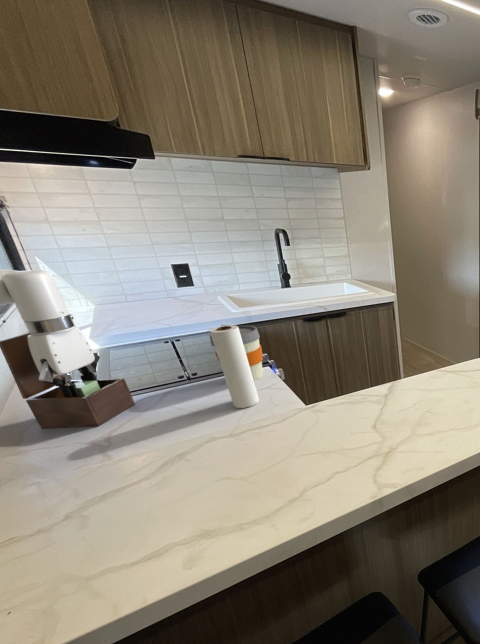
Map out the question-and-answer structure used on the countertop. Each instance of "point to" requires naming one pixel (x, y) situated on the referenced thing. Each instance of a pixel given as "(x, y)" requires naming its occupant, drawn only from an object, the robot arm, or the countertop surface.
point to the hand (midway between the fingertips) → (84, 393)
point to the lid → (23, 366)
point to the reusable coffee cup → (250, 349)
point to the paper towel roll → (235, 365)
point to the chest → (81, 405)
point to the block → (86, 387)
